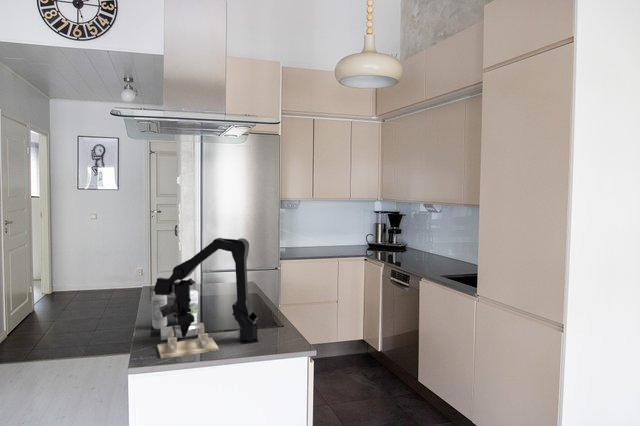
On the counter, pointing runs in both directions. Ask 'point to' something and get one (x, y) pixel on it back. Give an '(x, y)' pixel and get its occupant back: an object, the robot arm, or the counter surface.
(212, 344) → the collar stand
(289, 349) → the counter surface
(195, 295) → the syrup box
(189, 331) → the metal tube
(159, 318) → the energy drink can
